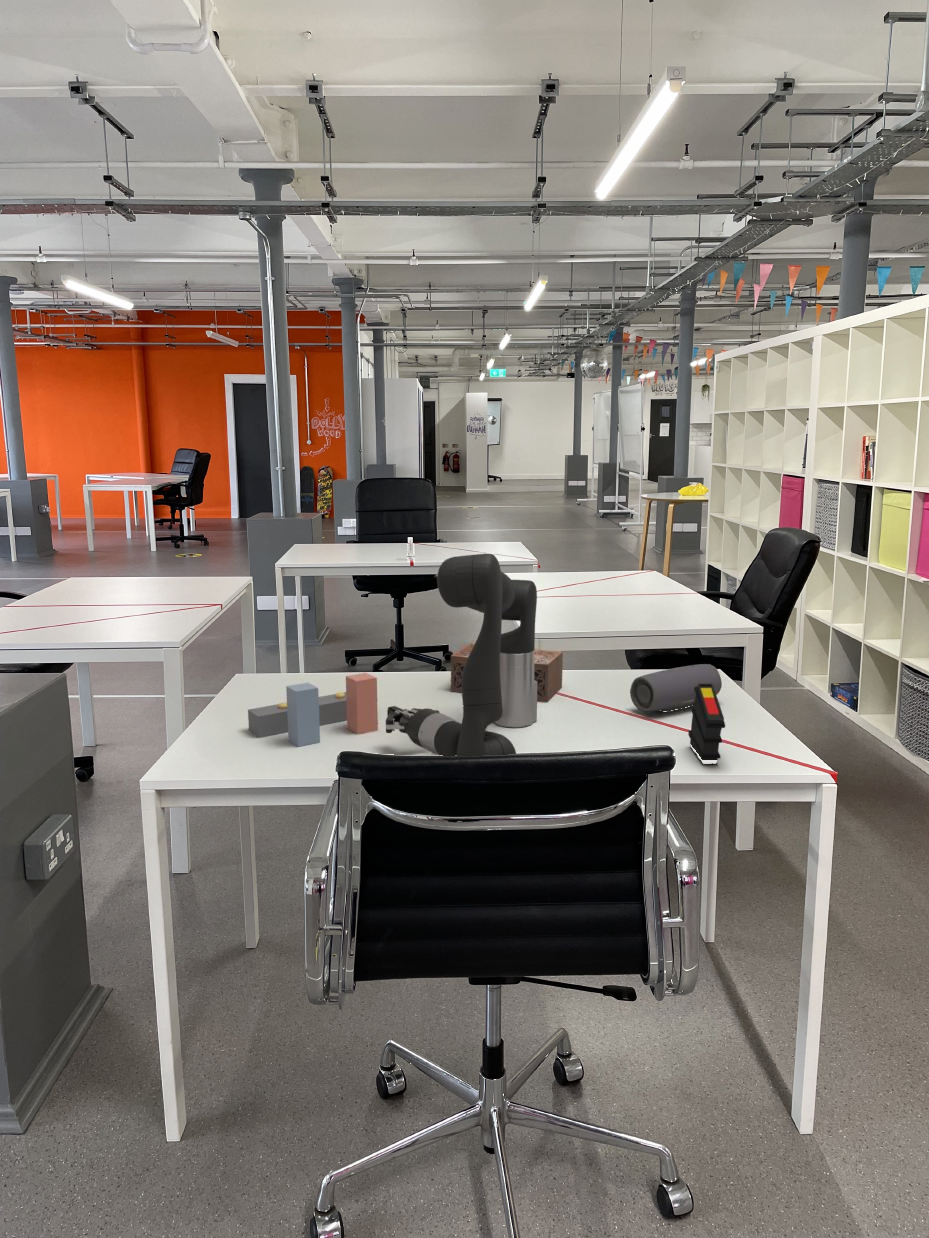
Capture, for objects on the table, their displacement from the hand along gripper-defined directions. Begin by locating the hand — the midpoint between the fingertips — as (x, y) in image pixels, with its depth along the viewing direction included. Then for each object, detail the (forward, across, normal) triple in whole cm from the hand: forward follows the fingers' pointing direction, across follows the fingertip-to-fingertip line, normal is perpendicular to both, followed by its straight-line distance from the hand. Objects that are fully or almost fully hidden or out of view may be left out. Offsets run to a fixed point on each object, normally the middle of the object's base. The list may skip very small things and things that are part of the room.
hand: (390, 711), depth 185 cm
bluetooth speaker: (-13, -72, +8) cm, 74 cm away
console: (+18, +7, +9) cm, 21 cm away
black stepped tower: (-40, -51, +9) cm, 66 cm away
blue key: (+13, +14, +8) cm, 21 cm away
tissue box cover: (+23, -48, +8) cm, 54 cm away
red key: (+13, 0, +8) cm, 15 cm away
